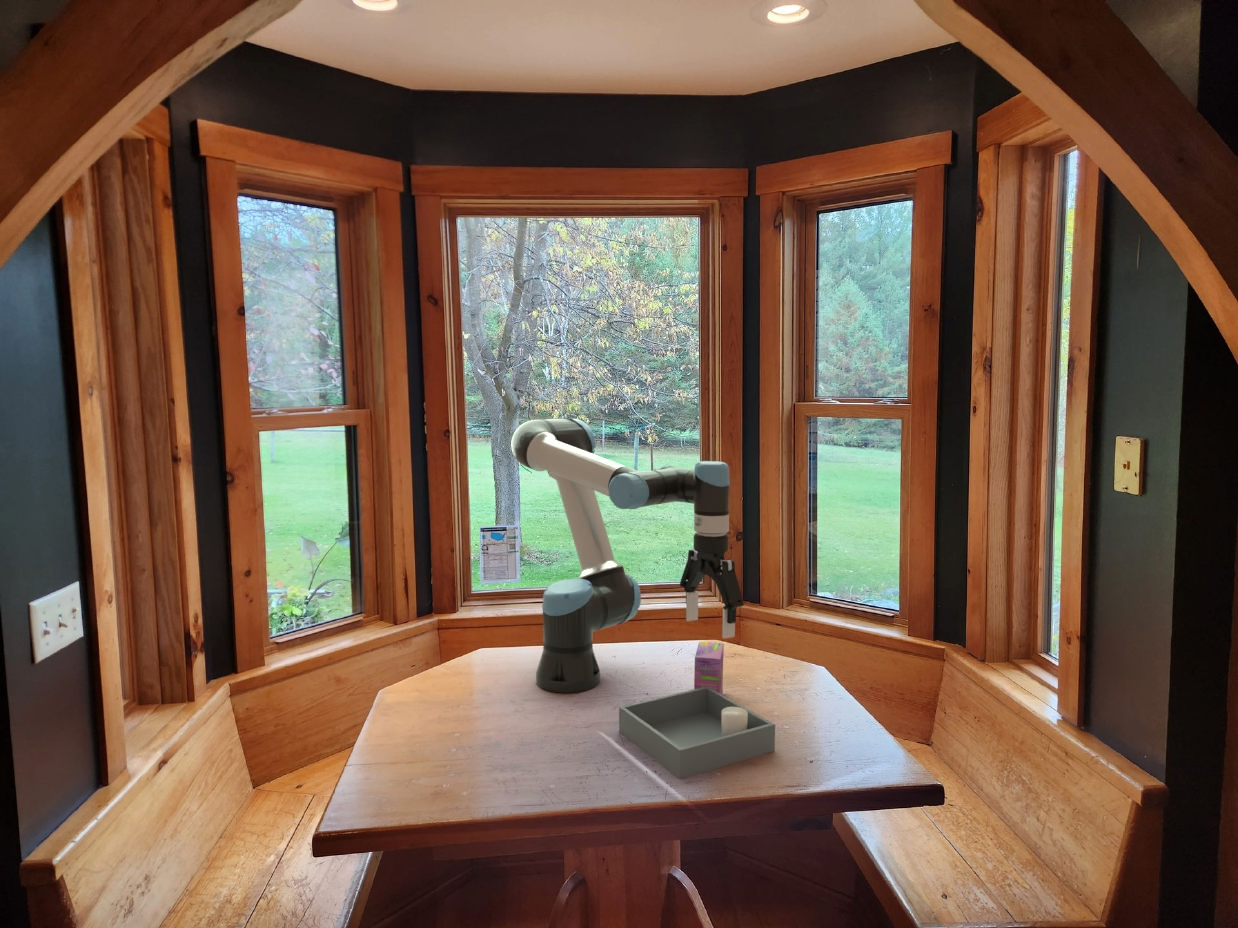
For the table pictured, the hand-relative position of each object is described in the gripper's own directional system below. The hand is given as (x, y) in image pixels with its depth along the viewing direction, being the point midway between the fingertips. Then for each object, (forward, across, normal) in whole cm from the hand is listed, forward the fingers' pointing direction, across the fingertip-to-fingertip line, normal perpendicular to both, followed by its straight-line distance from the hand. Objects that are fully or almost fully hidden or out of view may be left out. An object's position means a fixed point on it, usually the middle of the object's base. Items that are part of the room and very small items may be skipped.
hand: (709, 628), depth 171 cm
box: (+17, 0, 0) cm, 17 cm away
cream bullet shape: (+16, +20, -8) cm, 27 cm away
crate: (+17, +16, -15) cm, 27 cm away
